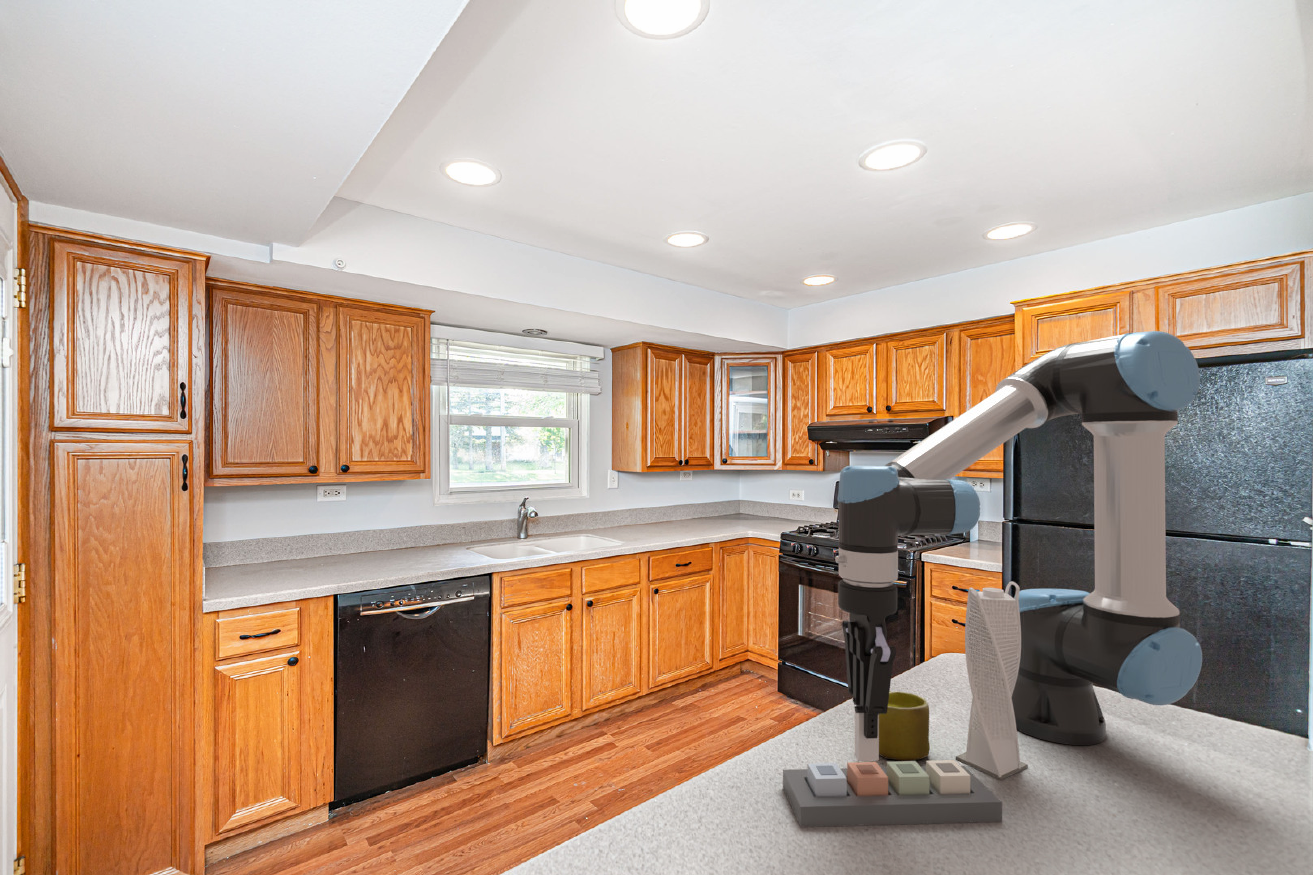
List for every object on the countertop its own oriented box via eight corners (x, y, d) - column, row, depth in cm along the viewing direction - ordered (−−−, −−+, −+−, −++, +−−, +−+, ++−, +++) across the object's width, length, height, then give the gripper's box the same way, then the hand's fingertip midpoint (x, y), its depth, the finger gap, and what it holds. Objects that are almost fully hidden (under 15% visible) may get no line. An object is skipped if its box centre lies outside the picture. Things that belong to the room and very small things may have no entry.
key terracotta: (876, 783, 86) (876, 760, 86) (888, 800, 82) (888, 776, 82) (847, 784, 86) (847, 761, 86) (857, 801, 82) (857, 777, 82)
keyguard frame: (964, 783, 89) (964, 765, 89) (1002, 821, 80) (1002, 801, 80) (782, 787, 88) (782, 769, 88) (800, 826, 79) (800, 806, 79)
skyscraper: (1037, 771, 93) (1037, 580, 93) (1006, 787, 89) (1005, 587, 89) (982, 747, 100) (982, 570, 100) (951, 760, 96) (951, 576, 96)
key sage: (915, 782, 87) (915, 760, 87) (929, 799, 83) (929, 775, 83) (886, 783, 86) (886, 760, 86) (899, 800, 82) (899, 776, 82)
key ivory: (954, 781, 87) (954, 759, 87) (970, 798, 83) (970, 774, 83) (926, 782, 87) (926, 759, 87) (940, 799, 83) (940, 775, 83)
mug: (950, 760, 92) (925, 689, 95) (880, 775, 94) (857, 705, 97) (936, 739, 104) (914, 676, 106) (874, 752, 106) (854, 691, 108)
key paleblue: (836, 784, 86) (836, 761, 86) (846, 801, 82) (846, 777, 82) (807, 785, 86) (807, 762, 86) (816, 802, 82) (816, 778, 82)
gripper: (824, 570, 91) (823, 735, 91) (857, 592, 78) (856, 784, 78) (875, 570, 91) (874, 734, 91) (917, 592, 78) (916, 783, 78)
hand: (866, 757), depth 84 cm, fingers closed
